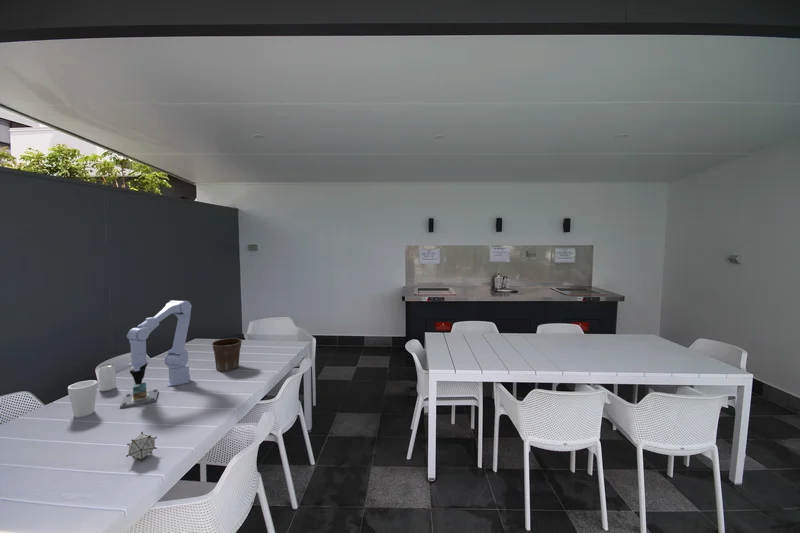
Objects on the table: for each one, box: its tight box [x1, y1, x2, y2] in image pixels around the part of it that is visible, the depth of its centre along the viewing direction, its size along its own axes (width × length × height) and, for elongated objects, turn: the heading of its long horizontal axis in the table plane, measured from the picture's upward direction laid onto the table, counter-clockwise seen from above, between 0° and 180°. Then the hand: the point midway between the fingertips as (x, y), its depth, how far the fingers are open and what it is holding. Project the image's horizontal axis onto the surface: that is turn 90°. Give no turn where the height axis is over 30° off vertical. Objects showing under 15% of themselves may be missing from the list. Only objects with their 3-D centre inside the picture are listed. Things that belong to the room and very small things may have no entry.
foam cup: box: [67, 379, 99, 418], centre depth 146 cm, size 10×9×13 cm
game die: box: [125, 431, 158, 463], centre depth 116 cm, size 9×8×10 cm
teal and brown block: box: [132, 381, 147, 400], centre depth 160 cm, size 4×4×6 cm
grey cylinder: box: [98, 363, 117, 392], centre depth 172 cm, size 6×6×12 cm
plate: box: [119, 388, 159, 409], centre depth 160 cm, size 13×13×2 cm
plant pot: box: [211, 337, 243, 372], centre depth 203 cm, size 16×16×16 cm
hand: (139, 381), depth 160 cm, fingers open, 7 cm apart
